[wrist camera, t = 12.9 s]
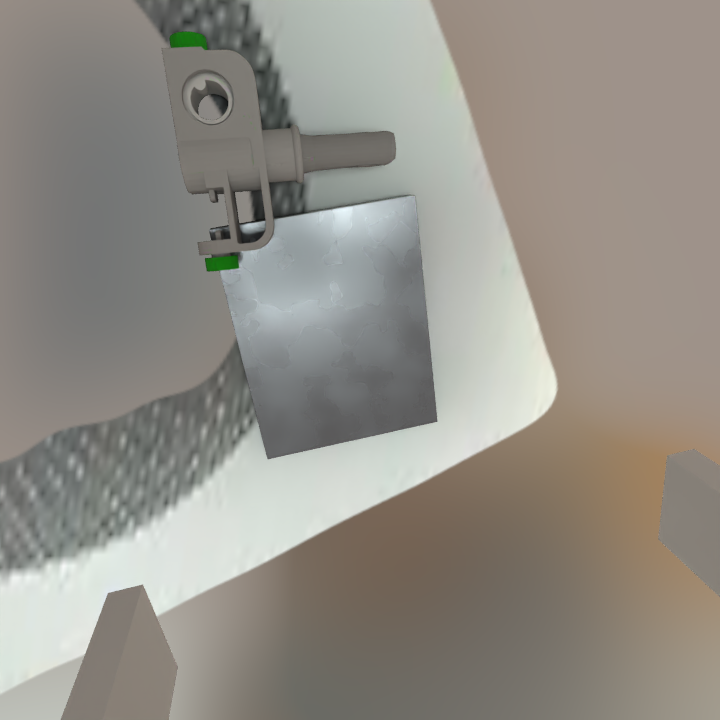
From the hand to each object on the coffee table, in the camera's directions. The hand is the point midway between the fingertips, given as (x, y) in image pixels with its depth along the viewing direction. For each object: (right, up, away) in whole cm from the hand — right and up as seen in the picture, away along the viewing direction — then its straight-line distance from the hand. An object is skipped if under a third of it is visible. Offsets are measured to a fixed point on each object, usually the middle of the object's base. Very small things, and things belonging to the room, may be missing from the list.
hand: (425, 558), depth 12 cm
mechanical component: (0, +15, +12) cm, 20 cm away
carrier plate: (-3, +7, +17) cm, 19 cm away
